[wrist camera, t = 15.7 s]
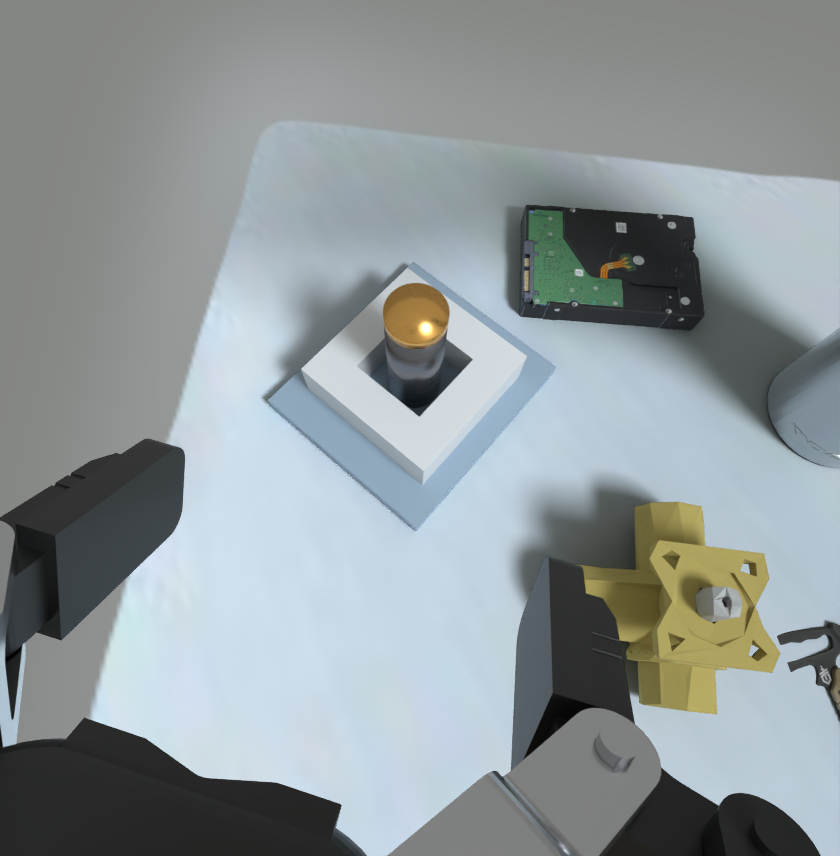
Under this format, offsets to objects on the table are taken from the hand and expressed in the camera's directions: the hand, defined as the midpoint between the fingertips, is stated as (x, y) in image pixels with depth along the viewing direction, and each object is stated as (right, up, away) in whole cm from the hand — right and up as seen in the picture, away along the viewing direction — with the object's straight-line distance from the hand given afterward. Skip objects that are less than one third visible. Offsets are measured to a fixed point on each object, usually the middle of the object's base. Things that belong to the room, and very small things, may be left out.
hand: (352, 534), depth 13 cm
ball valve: (+16, -10, +29) cm, 35 cm away
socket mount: (+1, +5, +34) cm, 35 cm away
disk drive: (+18, +16, +39) cm, 46 cm away
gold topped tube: (+1, +6, +33) cm, 33 cm away
